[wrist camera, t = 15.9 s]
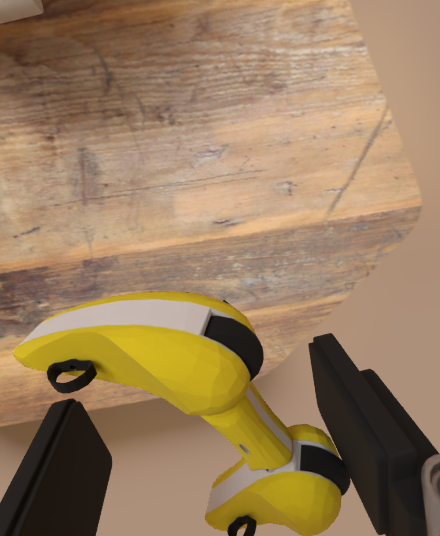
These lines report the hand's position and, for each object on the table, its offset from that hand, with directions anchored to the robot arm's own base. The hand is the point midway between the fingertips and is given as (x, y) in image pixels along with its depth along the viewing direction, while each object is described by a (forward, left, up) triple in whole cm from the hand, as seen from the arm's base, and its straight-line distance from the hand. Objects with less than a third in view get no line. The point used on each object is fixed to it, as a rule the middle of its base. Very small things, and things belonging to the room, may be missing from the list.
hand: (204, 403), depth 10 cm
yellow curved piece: (0, 0, -1) cm, 1 cm away
